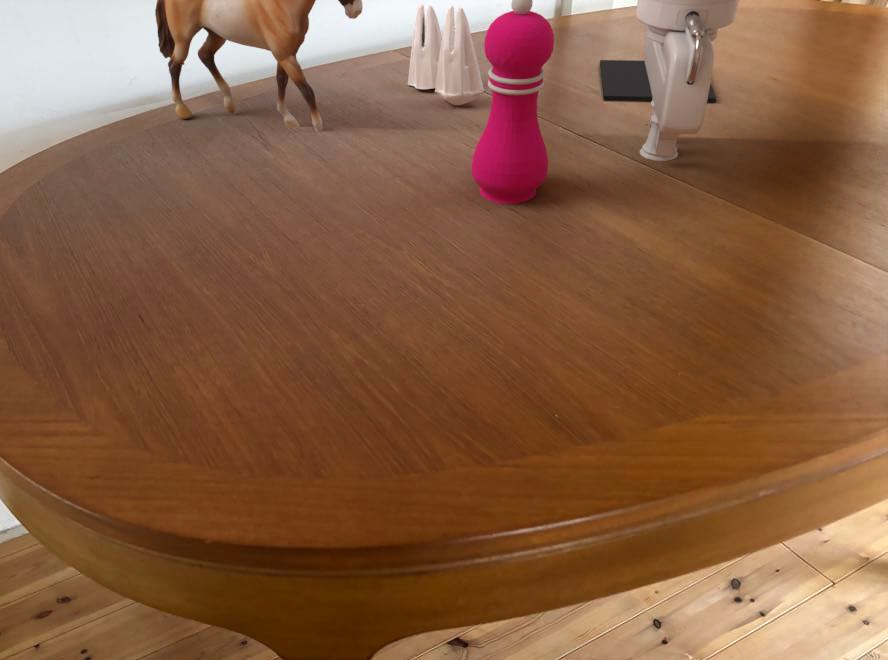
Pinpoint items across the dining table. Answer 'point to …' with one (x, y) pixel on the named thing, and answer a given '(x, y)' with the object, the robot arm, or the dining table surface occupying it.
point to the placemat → (629, 81)
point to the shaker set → (445, 57)
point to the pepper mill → (514, 107)
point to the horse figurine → (241, 41)
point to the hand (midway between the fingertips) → (661, 142)
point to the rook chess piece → (649, 146)
